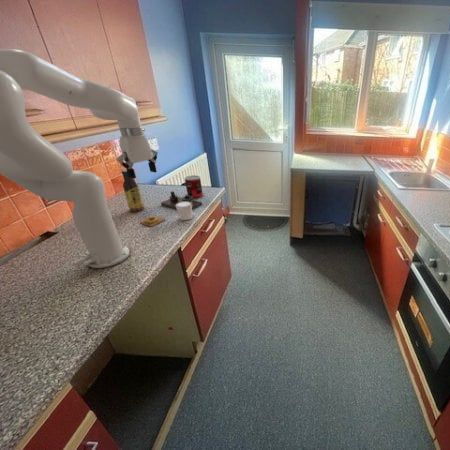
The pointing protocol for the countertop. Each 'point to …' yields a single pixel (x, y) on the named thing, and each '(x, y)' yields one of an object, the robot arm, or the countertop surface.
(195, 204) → the peg rack
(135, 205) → the sauce bottle
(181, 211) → the white short cylinder
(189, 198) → the wood ring
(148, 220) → the brass ring
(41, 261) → the countertop surface
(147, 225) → the cork mat
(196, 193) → the canned food
